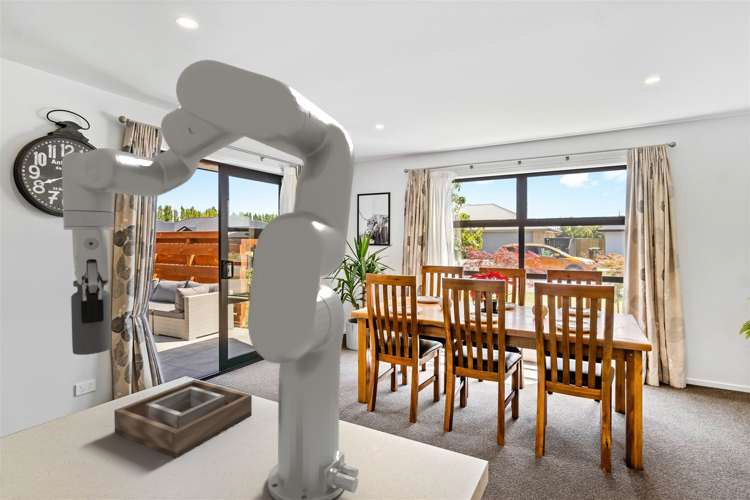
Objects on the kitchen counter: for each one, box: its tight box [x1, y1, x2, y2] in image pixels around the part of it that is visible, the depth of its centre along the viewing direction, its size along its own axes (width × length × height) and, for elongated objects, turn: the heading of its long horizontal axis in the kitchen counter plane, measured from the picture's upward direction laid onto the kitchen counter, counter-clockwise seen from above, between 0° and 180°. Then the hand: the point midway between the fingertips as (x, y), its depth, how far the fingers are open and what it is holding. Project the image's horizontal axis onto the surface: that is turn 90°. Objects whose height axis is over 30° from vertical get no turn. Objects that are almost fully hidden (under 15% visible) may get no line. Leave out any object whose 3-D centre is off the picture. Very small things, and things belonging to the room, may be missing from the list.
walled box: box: [114, 379, 253, 459], centre depth 79 cm, size 18×18×5 cm
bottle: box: [70, 270, 112, 356], centre depth 72 cm, size 6×6×15 cm
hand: (91, 318), depth 72 cm, fingers closed on bottle, 5 cm apart
